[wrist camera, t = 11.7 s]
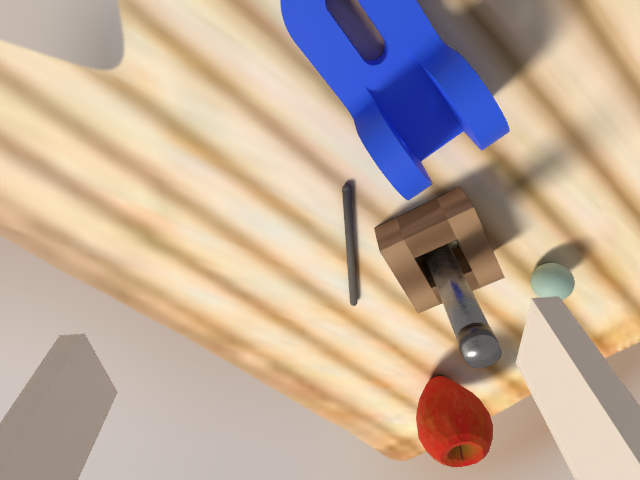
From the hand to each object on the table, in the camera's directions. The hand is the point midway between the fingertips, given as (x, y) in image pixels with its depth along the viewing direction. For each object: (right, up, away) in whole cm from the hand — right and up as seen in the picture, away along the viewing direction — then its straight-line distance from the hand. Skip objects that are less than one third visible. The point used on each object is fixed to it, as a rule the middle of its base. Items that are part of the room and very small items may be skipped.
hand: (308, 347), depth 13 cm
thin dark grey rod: (+3, +2, +30) cm, 31 cm away
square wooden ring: (+12, +3, +30) cm, 33 cm away
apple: (+16, -15, +42) cm, 48 cm away
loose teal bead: (+24, 0, +32) cm, 41 cm away
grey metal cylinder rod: (+12, +3, +30) cm, 33 cm away
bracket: (+5, +18, +21) cm, 28 cm away
